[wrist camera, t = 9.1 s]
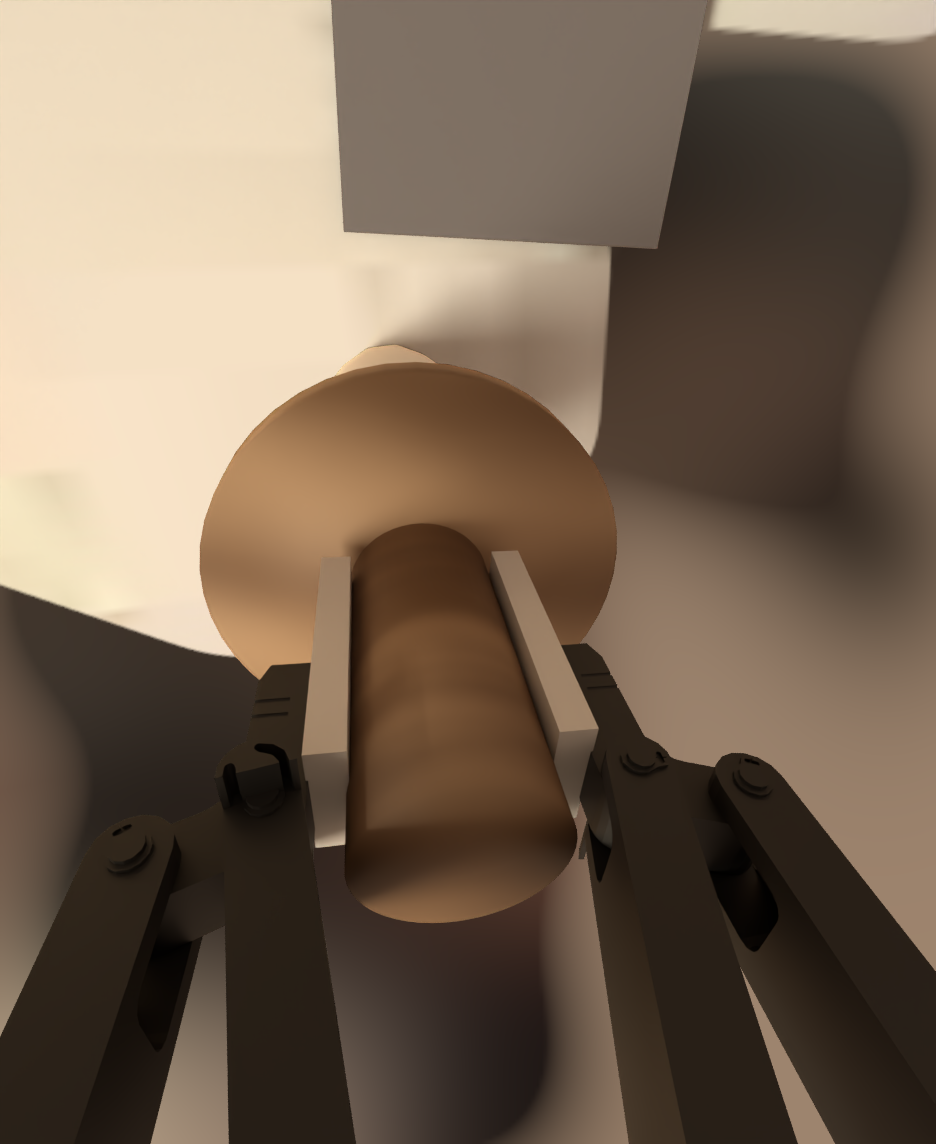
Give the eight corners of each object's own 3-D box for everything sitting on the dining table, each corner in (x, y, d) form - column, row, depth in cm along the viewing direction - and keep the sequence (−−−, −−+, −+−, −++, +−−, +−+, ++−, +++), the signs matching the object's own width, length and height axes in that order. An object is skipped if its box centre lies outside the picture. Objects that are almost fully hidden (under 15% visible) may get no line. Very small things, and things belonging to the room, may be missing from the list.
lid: (164, 358, 14) (-116, 589, 6) (638, 365, 16) (937, 542, 7) (245, 714, 20) (170, 1058, 12) (572, 688, 22) (696, 969, 14)
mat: (314, -326, 18) (312, -341, 17) (747, -236, 20) (757, -246, 20) (344, 231, 26) (343, 231, 26) (651, 247, 28) (657, 248, 28)
